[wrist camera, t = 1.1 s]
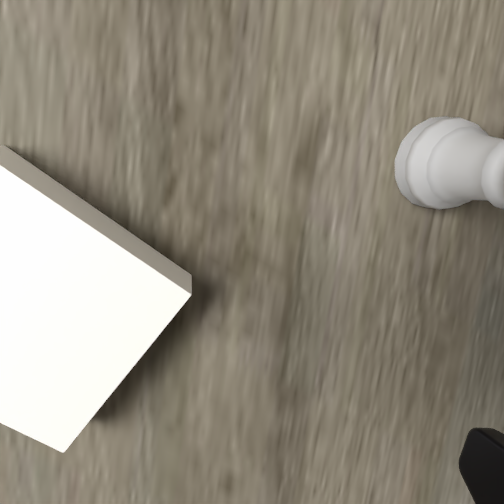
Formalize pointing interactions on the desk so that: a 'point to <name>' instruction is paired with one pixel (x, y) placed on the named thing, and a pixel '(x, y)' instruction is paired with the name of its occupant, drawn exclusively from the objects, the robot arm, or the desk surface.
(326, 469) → the desk surface
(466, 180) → the rook chess piece
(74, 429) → the off-white block
